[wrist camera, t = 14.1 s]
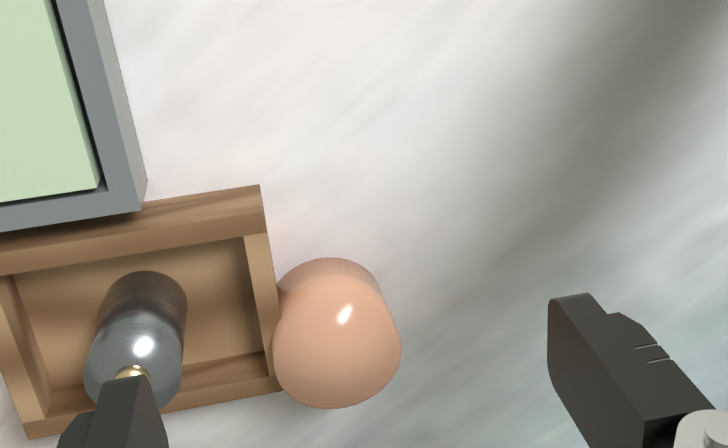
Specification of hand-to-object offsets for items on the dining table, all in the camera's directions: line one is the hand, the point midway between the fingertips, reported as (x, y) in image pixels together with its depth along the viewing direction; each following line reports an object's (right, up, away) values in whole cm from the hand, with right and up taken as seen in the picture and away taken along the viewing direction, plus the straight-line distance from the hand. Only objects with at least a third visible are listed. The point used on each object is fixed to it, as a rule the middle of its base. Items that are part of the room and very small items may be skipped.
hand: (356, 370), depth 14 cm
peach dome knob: (-2, -2, +28) cm, 29 cm away
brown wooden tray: (-12, -1, +26) cm, 28 cm away
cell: (-12, -2, +25) cm, 28 cm away
